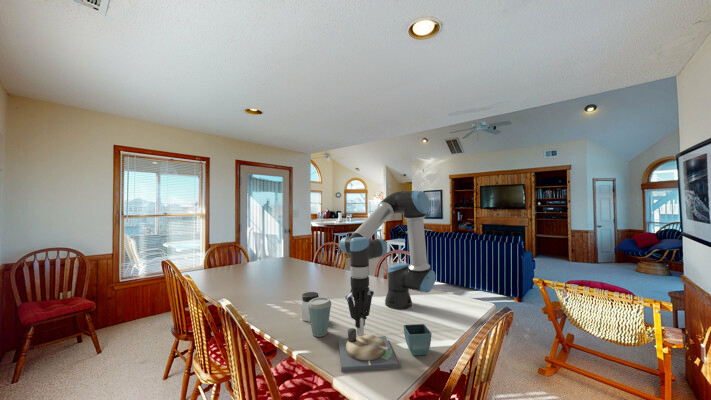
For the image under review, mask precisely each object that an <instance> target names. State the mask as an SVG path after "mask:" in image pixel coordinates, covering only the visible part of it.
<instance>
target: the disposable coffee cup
mask: <svg viewBox="0 0 711 400" xmlns="http://www.w3.org/2000/svg"><path fill="white" fill-rule="evenodd" d="M331 307H332V301H331V298H329V296H319V297H318V298H314V299H312V300H310V301H309V302H308V308H309V314H310V321H311V322H310V327H311V332H312V335H313V336H314V337H318V338H319V337H325V336H327V335H328V331H329V322H330V314H331Z"/></svg>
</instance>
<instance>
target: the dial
mask: <svg viewBox="0 0 711 400" xmlns="http://www.w3.org/2000/svg"><path fill="white" fill-rule="evenodd" d="M347 338H348V341H347V343H346V351H347V353H348V355H350V356H351V357H353V358H355V359H359V360H374V359H377V358H380V357H381V356H383V355H384V353H385V350H386V351H387V350H388V347H385V342H384V341H383V340H382V339H381V338H379V336H376V335H371V334H364V336H362V337H360V336H359V335H357V328H353V327H352V328H348V329H347Z"/></svg>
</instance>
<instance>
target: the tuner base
mask: <svg viewBox="0 0 711 400" xmlns="http://www.w3.org/2000/svg"><path fill="white" fill-rule="evenodd" d="M378 337H379V338H381V339H382V340H383V341H384V342H385V347H388V350H387V351H386V350H385V353H384V355H383V356H381V357H380V358H377V359H374V360H359V359H355V358H353V357H351V356H350V355H348V353H347V351H346V343H347V341H348V337H346V338H338V349H339V351H338V352H339V353H338V354H339V363H340V372H341V371H342V372H355V371H356V370H357V371H368V370H370V371H371V370H380V369H382V370H383V369H397V368H399V363H398V361H397V358H396V356H395V354H394V351H393V349H392V347H391V345H390V343H389V340H388V337H387V336H386V335H381V336H378ZM357 371H356V372H357Z"/></svg>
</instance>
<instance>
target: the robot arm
mask: <svg viewBox="0 0 711 400" xmlns="http://www.w3.org/2000/svg"><path fill="white" fill-rule="evenodd" d="M430 202H431V201H430V199H429V197H428V195H427V194H426V192H424V191H422V190H407V191H405V190H403V191H395V192H393V193H391V194H388V195H387V196H386V197H384V199H382V200H381V201H380V202H378V204H377V208H376V209H375V210H374V211H373V212H372V213H371V214H370V215H369V216H368V217H367V218H366V219H365V220H364V221H363V222H362V224H361V225H359V227H358V228H357V229H356V230H355V231H354V232H353V233H352V234H351V235H350V236H345V237H342V238H341V240H340V241H339V249H340V251H341V252H342V253H344V254H348V255H349V256H350V258H349V259H350V263H349V264H350V265H349V266H350V293H349V294H348V295H345V300H346V301H347V305H348V309H349V314H350V318H352V319H353V320H355V323H354V324H355V325H354V326H355V328H356V336H358V335H359V336H360V337H362V336H364V335H365V330H364V328H365V326H366V319H367V317H368V316H370V311H371V305H372V299H373V296H374V294H375V292H374V291H373V290H371V289H370V287H369V286H370V277H369V276H370V260H371V259H375V258H376V259H377V258H380V257H382V256H384V255H386V254H387V251H388V245H387V242H386V241H385V240H384V239H382V238H375V239H371V238H372V237H373V236H374V235H375V233H376V232H377V231H378V230H379V229H380V228H381V226H382V225H383V224H384V223H386V221H387V220H388V219H389V218H391V217H393V216H394V215H395V214H399V213H400V214H402V215H403V218H404V219H405V220H406V226H407V227H406V228H407V237H408V247H409V248H408V249H409V259H410V264H409V263H407V262H399V263H398V262H397V263H391V264H389V265H388V267H387V268H388V269H387V293H386V296H385V301H384V305H385V306H386V307H388V308H390V309H395V310H406V309H409V308H412V306H413V301H412V297H411V294H410V290H412V291H417V292H420V293H430V292H431V291H432V290H433V288H434V286H435V282H436V273H435V271H434V270H432V269H431V265H430V264H429V263H428V261H427V247H426V246H427V245H426V236H425V235H426V233H425V225H424V224H425V223H424V222H425V221H424V219H425V218H426V216H427V213H429V211H430V208H431V207H430V206H431V203H430Z"/></svg>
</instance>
